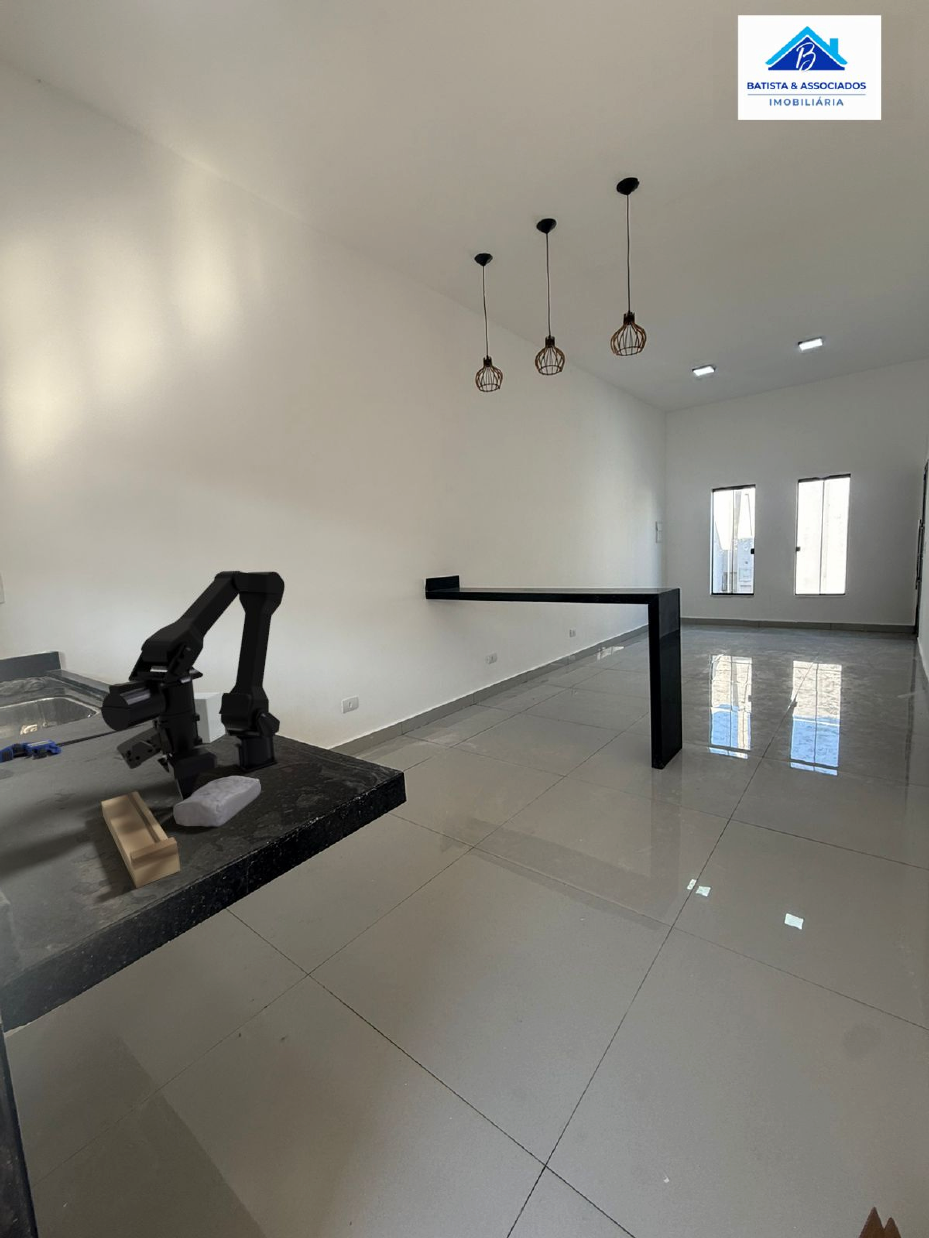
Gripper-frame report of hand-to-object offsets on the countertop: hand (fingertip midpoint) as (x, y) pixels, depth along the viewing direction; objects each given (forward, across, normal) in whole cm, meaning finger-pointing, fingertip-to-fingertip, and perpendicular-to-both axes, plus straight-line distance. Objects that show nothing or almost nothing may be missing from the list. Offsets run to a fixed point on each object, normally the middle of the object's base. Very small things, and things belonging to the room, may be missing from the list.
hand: (186, 798), depth 85 cm
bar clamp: (+2, -54, -7) cm, 54 cm away
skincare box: (+1, -34, +11) cm, 36 cm away
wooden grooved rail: (+1, +7, -8) cm, 11 cm away
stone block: (+2, +5, +3) cm, 6 cm away
